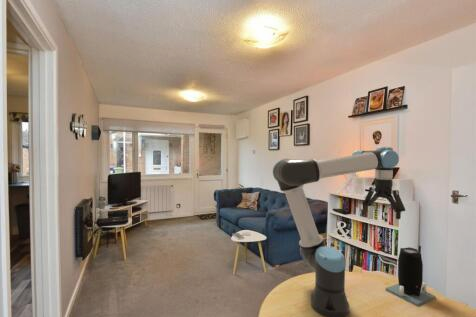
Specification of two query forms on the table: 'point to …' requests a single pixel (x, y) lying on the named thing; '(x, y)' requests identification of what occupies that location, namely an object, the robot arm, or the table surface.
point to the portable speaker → (410, 270)
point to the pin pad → (412, 298)
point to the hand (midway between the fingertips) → (382, 222)
